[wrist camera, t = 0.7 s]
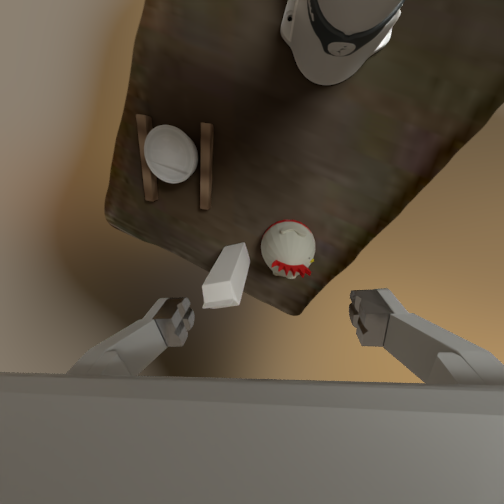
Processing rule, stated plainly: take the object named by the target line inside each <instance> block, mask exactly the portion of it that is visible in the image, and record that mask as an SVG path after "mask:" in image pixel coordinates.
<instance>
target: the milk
mask: <svg viewBox="0 0 504 504" xmlns="http://www.w3.org/2000/svg"><path fill="white" fill-rule="evenodd" d="M249 265H250V258H249V255H248V251H247V248H246V245H245V242H244V243H239V244H234V245H230V246H225V247H224V248H223V250H222V252H221V254H220V255H219V257H218V259H217V261H216V262H215V264H214V266H213V267H212V269H211V271H210V273H209V274H208V276H207V278H206V279H205V282H204V283H203V285H202V291H203V297H204V305H203V307H202V308H212V309H215V308H222V307H229V306H236V305H239V304H240V300H241V296H242V292H243V288H244V284H245V281H246V277H247V273H248V269H249Z"/></svg>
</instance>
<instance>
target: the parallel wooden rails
mask: <svg viewBox="0 0 504 504" xmlns="http://www.w3.org/2000/svg"><path fill="white" fill-rule="evenodd" d="M136 121H137V130H138V139H139V147H140V156H141V165H142V174H143V183H144V192H145V200H147V201H156V200H158V187H157V176H155V175H154V174H153V172H152V171H151V170H150V168H149V166H148V164H147V162H146V159H145V156H144V144H145V140H146V137H147V135H148V134H149V132H150V131H151V130H152V129H153V128H152V117H149V116H146V115H140V114H136ZM213 135H214V125H212V124H209V123H201V174H200V209H207V210H208V209H210V208H211V198H212V167H213Z"/></svg>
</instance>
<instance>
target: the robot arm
mask: <svg viewBox="0 0 504 504" xmlns="http://www.w3.org/2000/svg"><path fill="white" fill-rule="evenodd" d="M404 1H405V0H288V1H287V5H286V8H285V12H284V16H283V19H282V23H281V27H280V33H281V36H282V38H283V39H284V41H285V42H286V43H287V44H288V45H289V46H290V48H291V50H292V52H293V55H294V58H295V61H296V64H297V66H298V68H299V70H300V71H301V72H302V74H303V75H304V76H305V77H306V78H307V79H309V80H310V81H312V82H314V83H316V84H319V85H333V84H337V83H340V82H342V81H344V80H346V79H347V78H349V77H350V76H352V75H353V74H354V73H355V72H356V71H357V70H358V69H359V68H360V67H361V66H362V64H363V63H364V62H365V61H366V60H367V59H368V58H369V57H370V56H371V55H373V54H375V53H376V52H378V51H380V50H381V49H382V48H384V47H385V46H386V44H387V43H388V41H389V40H390V37H391V33H392V27H393V25H394V24H395V23H396V21H397V20H398V18H399V16H400V14H401V11H400V7H401V6H402V4H403V3H404ZM289 17H291V18H292V21H290V22H289V21H288V18H289ZM350 299H351V301H352V303H351V304H350V305H349V315H350V319H351V322H352V325H353V326H354V327H356V328H357V331H356V334H357V336H358V338H359V341H360V343H361V345H362V346H379V347H384V348H385V349H386V350H387V351H388V352H389V353H391V354H392V355H393V356H394V357H395V358H396V359H397V360H399V361H400V362H401V363H402V364H403V365H405V366H406V367H407V368H408V369H409V370H410V371H412V372H413V373H414V374H415V375H416V376H417V377H419V378H420V379H421V380H422V381H423V382H425V383H426V384H425V383H387V382H351V381H314V380H313V381H311V380H276V379H274V380H273V379H237V378H200V377H162V376H137V375H138V374H139V373H140V372H141V371H142V370H143V369H144V368H145V367H146V366H148V365H149V364H150V363H151V362H152V361H153V360H154V359H155V358H156V357H157V356H158V355H159V354H160V353H161V352H163V351H164V350H165V349H166V348H167V347H171V346H183V344H184V342H185V340H186V338H187V336H188V333H187V331H188V330H190V329H191V328H192V326H193V323H194V312H193V310H192V309H191V308H190V307H189V306H190V304H191V303H190V301H189V299H188V298H186V297H185V298H160V299H158V300H157V302H156V303H155V304H154V305H153V307H152V308H151V309H150V310H149V312H148V313H147V314H146V315H145V317H144V318H143V319H142V320H138V321H137V322H135V323H133V324H131V325H130V326H128V327H126V328H125V329H123V330H121V331H120V332H118V333H116V334H115V335H113V336H111V337H110V338H108V339H106V340H104V341H103V342H101V343H99V344H98V345H96V346H95V347H93V348H91V349H89V350H88V351H87V352H86V353H85V354H84V355H83V356H82V357H81V358H80V359H79V361H78V362H77V363H76V364H75V365H74V366H73V367H72V368H71V369H70V370H69V371H68V372H67V373H66V374H47V373H10V372H0V504H504V365H503V364H502V363H501V362H500V361H499V360H498V359H497V358H496V357H495V356H494V355H493V354H492V353H490V352H489V351H487V350H485V349H483V348H481V347H479V346H477V345H475V344H473V343H471V342H469V341H467V340H465V339H463V338H461V337H459V336H457V335H455V334H453V333H451V332H449V331H447V330H445V329H443V328H441V327H439V326H437V325H435V324H433V323H431V322H429V321H427V320H425V319H423V318H421V317H419V316H417V315H415V314H413V313H408V312H407V310H406V309H405V308H404V307H403V306H402V304H401V303H400V302H399V301H398V300H397V298H396V297H395V296H394V295H393V294H392V292H391V291H390V290H389V289H386V288H384V289H375V290H354V291H351V293H350Z"/></svg>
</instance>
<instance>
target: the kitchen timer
mask: <svg viewBox="0 0 504 504" xmlns="http://www.w3.org/2000/svg"><path fill="white" fill-rule="evenodd" d="M261 252H262V256H263V258H264V260H265V262H266V264H267V266H268V267H269V268H270V269H271V270H272V271H273V274H274V275H276V276H284V277H286V278H288V279H294V278H296V276H297V275H299V274H300V275H301V276H302V277H303V278H304V274H305V273H306V274H308V275H309V276H310V274H311V271H310V270H309V269H308V267H309V265H310V264H311V262H313V261H314V259H313V257H314V253H315V240H314V237H313V235H312V233H311V231H310V230H309V229H308V227H307V226H305V225H304V224H302V223H301V222H298V221H295V220H282V221H278V222H276V223H274V224H273V225H271V226H270V227H269V228H268V229H267V230H266V231H265V233H264V235H263V237H262V242H261Z"/></svg>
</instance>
